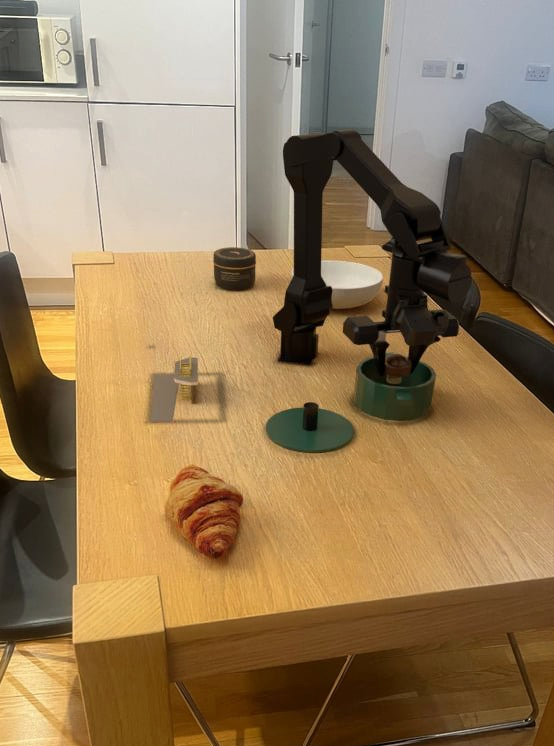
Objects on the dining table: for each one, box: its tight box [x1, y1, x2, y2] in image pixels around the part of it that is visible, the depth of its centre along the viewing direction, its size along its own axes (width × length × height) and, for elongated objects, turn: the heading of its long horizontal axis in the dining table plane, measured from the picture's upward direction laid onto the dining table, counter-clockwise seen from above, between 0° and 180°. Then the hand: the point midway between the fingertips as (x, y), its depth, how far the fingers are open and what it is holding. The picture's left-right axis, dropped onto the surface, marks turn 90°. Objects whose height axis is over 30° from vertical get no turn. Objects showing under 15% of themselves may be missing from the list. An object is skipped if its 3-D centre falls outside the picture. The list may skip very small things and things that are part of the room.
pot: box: [353, 352, 437, 422], centre depth 131 cm, size 13×19×6 cm
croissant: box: [164, 463, 244, 559], centre depth 100 cm, size 21×10×8 cm, turn 18°
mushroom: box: [384, 352, 412, 384], centre depth 129 cm, size 5×5×5 cm
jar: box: [212, 246, 257, 292], centre depth 179 cm, size 10×10×8 cm
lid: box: [265, 401, 355, 454], centre depth 121 cm, size 14×14×5 cm
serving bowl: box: [290, 259, 384, 310], centre depth 172 cm, size 21×21×7 cm
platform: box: [149, 354, 199, 423], centre depth 130 cm, size 12×18×7 cm, turn 7°
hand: (395, 374), depth 129 cm, fingers closed on mushroom, 5 cm apart
